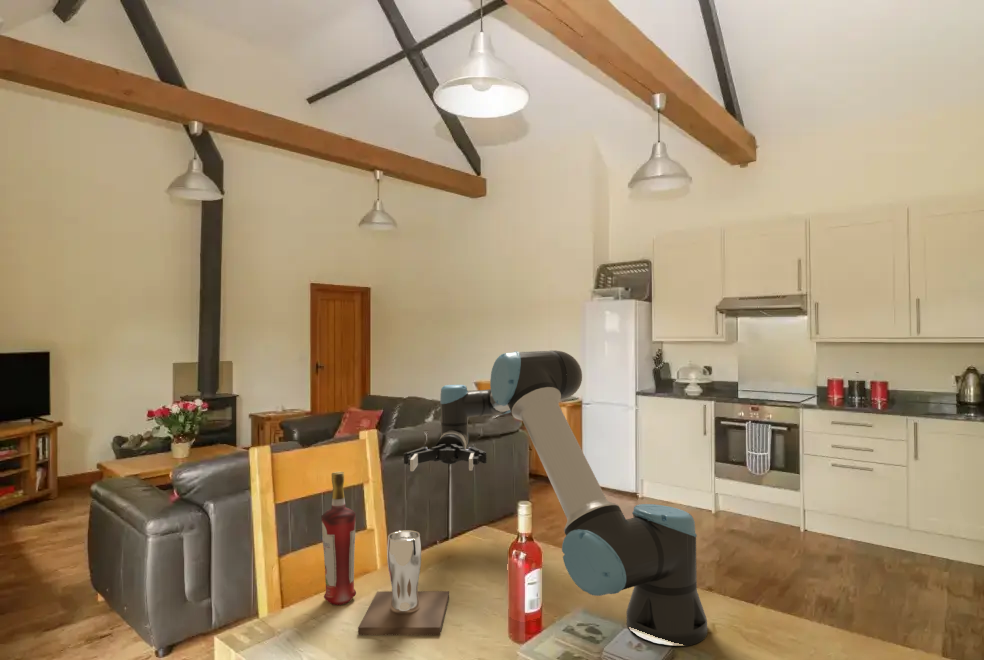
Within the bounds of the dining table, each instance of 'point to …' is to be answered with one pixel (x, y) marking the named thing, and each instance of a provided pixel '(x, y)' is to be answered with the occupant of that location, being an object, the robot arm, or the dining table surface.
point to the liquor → (339, 546)
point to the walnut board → (405, 615)
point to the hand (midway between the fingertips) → (441, 465)
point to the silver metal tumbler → (404, 570)
